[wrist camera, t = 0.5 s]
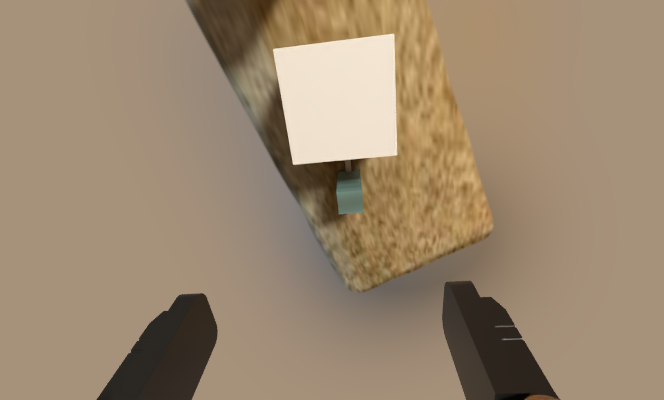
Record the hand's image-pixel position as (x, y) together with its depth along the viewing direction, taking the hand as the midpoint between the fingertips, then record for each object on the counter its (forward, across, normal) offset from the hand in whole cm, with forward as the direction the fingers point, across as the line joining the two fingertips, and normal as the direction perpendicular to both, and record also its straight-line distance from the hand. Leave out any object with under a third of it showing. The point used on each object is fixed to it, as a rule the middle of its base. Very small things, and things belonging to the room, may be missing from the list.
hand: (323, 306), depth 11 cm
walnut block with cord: (+28, -1, +1) cm, 28 cm away
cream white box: (+28, 0, -3) cm, 28 cm away
